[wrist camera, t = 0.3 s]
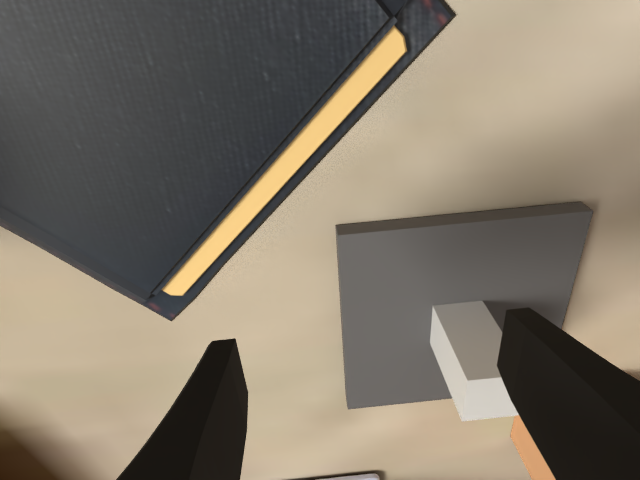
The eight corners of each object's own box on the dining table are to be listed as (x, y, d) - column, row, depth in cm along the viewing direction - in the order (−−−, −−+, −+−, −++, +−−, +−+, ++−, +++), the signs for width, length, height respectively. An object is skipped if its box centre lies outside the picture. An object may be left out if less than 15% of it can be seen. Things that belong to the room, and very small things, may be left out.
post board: (536, 375, 27) (595, 467, 22) (345, 395, 27) (360, 492, 22) (580, 201, 21) (676, 270, 16) (335, 225, 21) (351, 303, 16)
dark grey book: (96, -481, 10) (478, 29, 16) (122, -415, 12) (460, 25, 18) (-187, 144, 16) (161, 342, 22) (-144, 130, 18) (169, 318, 24)
